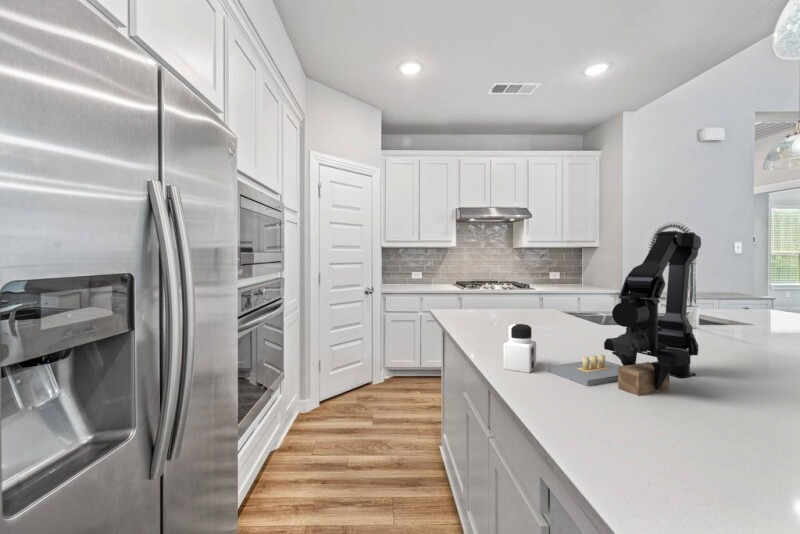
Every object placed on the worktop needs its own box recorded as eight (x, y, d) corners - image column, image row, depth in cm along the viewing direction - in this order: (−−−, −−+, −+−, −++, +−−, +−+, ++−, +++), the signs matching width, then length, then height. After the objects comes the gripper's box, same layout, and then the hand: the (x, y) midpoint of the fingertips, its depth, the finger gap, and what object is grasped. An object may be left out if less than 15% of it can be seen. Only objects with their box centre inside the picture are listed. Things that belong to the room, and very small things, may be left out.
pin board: (599, 363, 120) (599, 347, 119) (642, 376, 107) (642, 358, 106) (547, 371, 112) (547, 354, 112) (587, 386, 99) (587, 366, 99)
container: (536, 366, 117) (536, 323, 117) (529, 373, 111) (529, 327, 110) (510, 363, 121) (510, 321, 121) (503, 369, 115) (502, 325, 114)
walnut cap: (648, 383, 101) (648, 362, 101) (669, 389, 96) (669, 367, 96) (618, 388, 97) (618, 366, 97) (638, 395, 92) (638, 372, 92)
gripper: (588, 319, 102) (588, 378, 102) (659, 331, 85) (658, 402, 85) (619, 316, 106) (619, 373, 107) (692, 327, 89) (691, 395, 89)
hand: (643, 384), depth 97 cm, fingers open, 7 cm apart
